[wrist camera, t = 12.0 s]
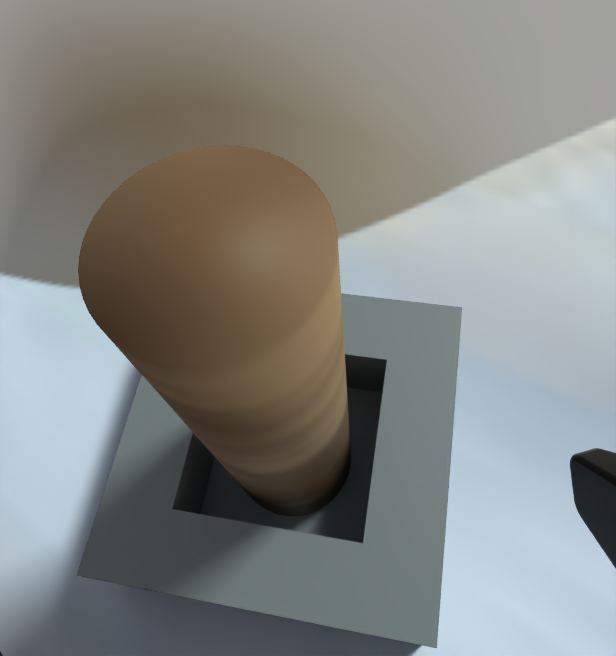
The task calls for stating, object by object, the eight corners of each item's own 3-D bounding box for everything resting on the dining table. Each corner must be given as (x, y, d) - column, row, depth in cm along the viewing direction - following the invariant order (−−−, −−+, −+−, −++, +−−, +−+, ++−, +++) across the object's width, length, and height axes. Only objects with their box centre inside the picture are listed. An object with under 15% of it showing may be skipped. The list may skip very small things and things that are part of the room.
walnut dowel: (372, 440, 21) (387, 207, 9) (308, 540, 19) (230, 418, 8) (280, 383, 22) (189, 113, 10) (214, 473, 21) (24, 282, 9)
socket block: (448, 351, 22) (462, 307, 19) (423, 643, 18) (436, 648, 15) (198, 319, 24) (173, 274, 21) (121, 582, 20) (76, 575, 17)
